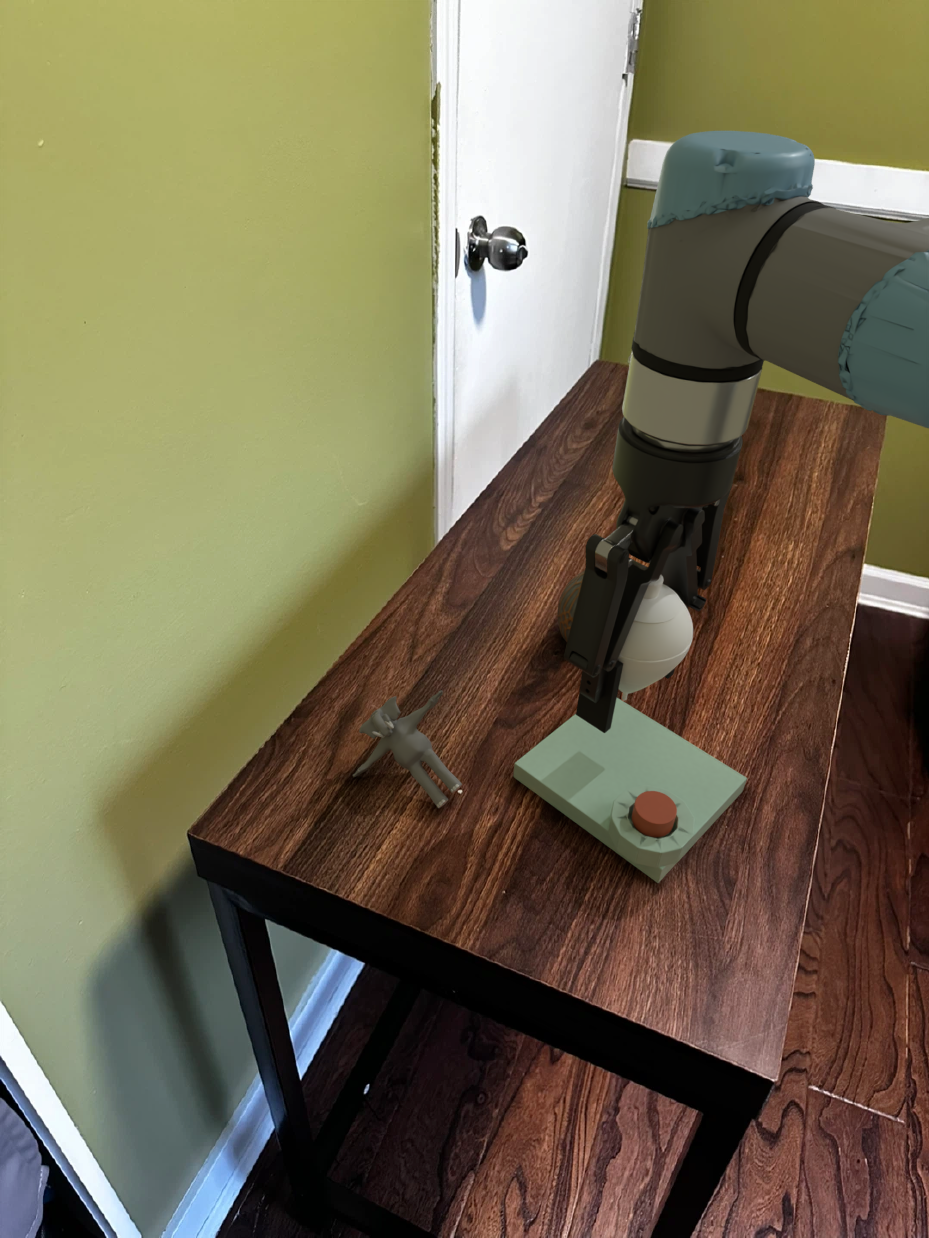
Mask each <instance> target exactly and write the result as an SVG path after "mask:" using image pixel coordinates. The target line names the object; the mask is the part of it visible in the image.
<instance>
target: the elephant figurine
mask: <svg viewBox="0 0 929 1238" xmlns="http://www.w3.org/2000/svg"><path fill="white" fill-rule="evenodd" d="M443 694H444V692H443V690H441V689H440V690H438V691H437V693H436V694H434V695H432V696H431V697H430V698H428V701H427V702H426V704H424V706H422V707H420V708H418V709H416V710H414V711H413V712H411V713H410V714H408V715H406V716H403V717H400V718H398V717H399V715H401V711H400V708H399V706H398V703H397V697H398V696H397V695H395V696H392V697H390V698H389V699H387V700H386V701H385V702H384V704H383V705H381V707H379V708H377V709H375V710H374V711H373V712H372V713H371V714H370V716H369V718H368V719H367V720H366V721H365V722H363V723H362V724H361V726H360V727H359V730H358V733H360V734H365V735H367V736H368V737H370V738H371V739H372V740H375V738H377V737H379V738H380V740H379V742H378V743H377V745H376V747H375V748H374V750H373V751H372V753H371V754H370V756H369V757H368V758H367V760H366V761H365V762H364V763H362V764H361V765H360V766H359V767H358V768H357V770H356V771H355V772H354V773H353V774H352V777H353V778H357V777H359V776H360V775H361V774H362V773H365V772H367V771H368V770H369V769H370V768H371V767H372V766H373V764H374V763H376V762H377V761H379V760H380V759H382V758H383V757H384V756H385V755H386V754H387V753H388V752H389V751H392V753H393V758H394V761H395V762H396V763H397V764H398V765H399V766H400V767H402V768H403V769H405V770H407V771H409V773H410V774H411V776H412V778H413V779H414V780H415V781H416V782H417V783H418V784H419V786H421V788H422V789H423V790H424V791H425V792H426V794H427V795H428V797H429V798H430V799H431V801H432V802H433V804H434V805H435V806H436V808H437V809H440V808H441V807H443V806H444V805H445V804H447V802H448V801H449V798H448V797H447V796H446V795H445V794H444V793H443V791H442V790H441V789H440V787H439V786H438V785H437V783H436V782H435V781H434V780H433V778H432V777H431V775H429V774H428V772H427V771H426V770H425V768H424V767H423V763H426V765H427V767H429V768H430V769H431V770H432V772H434V774H435V775H436V776H437V777H438V778H439V780H440V781H441V782H442V783H443V784H444V785H445V786H446V788H447V789H448V790H449V792H450V793H451V794H453V793H455V792H457V791H458V790H459V789H460V788H461V787H462V786H463V783H462V782H461V781H460V780H459V779H458V778H457V776H455V775H454V774H453V773H452V772H451V771H450V770H449V769H448V768H447V766H446V765H445V763H443V761H442V760H441V758H440V757H439V756H438V755H437V753H436V752H435V751H434V750H433V744H432V741H431V740H430V739H429V738H428V736H427V735H426V734H424V733H423V732H422V731H419V730H418V728H417V726H418V724H420V722H421V721H422V719H423V718H424V716H425V715H426V714H427V713H428V711H430V710H431V709H433V708H434V707H435V706H436V705H437V704H438V702H439V700H440V698H441V697H442V696H443Z"/></svg>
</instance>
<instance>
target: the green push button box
mask: <svg viewBox="0 0 929 1238" xmlns="http://www.w3.org/2000/svg"><path fill="white" fill-rule="evenodd" d="M512 777H513V778H514V779H515V780H516V781H518V782H520V783H521V784H522V785H524V786H525V787H526V788H528V789H529V790H530V791H532V792H533V793H534V794H536V795H537V796H538V797H540V798H541V799H543V800H544V801H545V802H547V803H548V804H549V805H550V806H551V807H553V808H555V809H556V810H557V811H559V812H561V814H563V815H565V816H566V817H567V818H568V819H569V820H571V821H572V822H574V823H576V825H578V826H579V827H581V828H582V829H583V830H585V831H586V832H587V833H588V834H590V835H592V837H594V838H596V839H597V840H598V841H600V842H601V843H603V844H604V846H607V847H608V848H610V849H611V850H612V851H613V852H615V854H617V855H619V856H620V857H621V858H623V859H624V860H625V861H626V862H628V863H630V864H631V865H632V866H634V867H635V868H636V869H638V870H639V871H641V872H642V873H643V874H645V875H646V876H647V877H649V878H650V879H651V880H653V881H654V882H655V883H657V884H659V883H660V882H661V881H662V880H663V879H664V878H665V877H666V876H667V874H668V873H669V872H670V871H671V870H672V869H673V868H674V867H675V866H676V865H677V864H678V863H679V862H680V860H682V858H683V857H684V856H685V855H686V854H687V853H688V852H689V850H691V848H693V846H694V845H695V844H696V843H697V842H698V841H699V840H700V838H702V836H703V835H704V834H705V833H706V832H707V831H708V830H709V829H710V828H711V826H713V825H714V823H715V822H716V821H717V820H718V819H719V818H720V817H721V816H722V815H723V814H724V813H725V811H727V809H728V808H729V807H730V806H731V805H732V803H734V802H735V800H736V799H737V798H738V797H739V796H740V795H741V794H742V793H743V791H744V789H745V785H746V783H747V780H748V777H746V776H745V775H743V774H741V773H740V772H738V771H737V770H735V769H734V768H732V767H731V766H729V765H727V764H725V763H724V762H722V761H721V760H719V759H717V758H716V757H714V756H713V755H711V754H709V753H707V752H706V751H704V750H703V749H701V748H699V747H698V746H696V745H695V744H693V743H691V742H689V741H688V740H686V739H685V738H683V737H682V736H680V735H678V734H676V733H675V732H674V731H672V730H671V729H669V728H668V727H665V726H664V725H662V724H660V723H659V722H657V721H656V720H654V719H652V718H651V717H649V716H647V715H646V714H644V713H643V712H641V711H639V710H638V709H636V708H634V707H633V706H632V705H630V704H628V703H627V702H626V701H624V700H623V699H620V698H619V697H617V699H616V704H615V709H614V714H613V719H612V724H611V728H610V729H609V730H608V731H607V732H606V733H603V732H601V731H600V730H598V729H597V728H595V727H594V726H592V725H591V724H589V723H588V722H586V721H585V720H583V719H582V718H580V717H579V716H577V715H576V713H575V714H573V715H572V716H571V717H569V718H568V719H567V720H566V721H565V722H563V723H562V724H561V725H560V726H558V728H556V729H555V730H554V731H553V732H551V733H550V734H549V735H547V736H546V737H545V738H544V739H542V740H541V741H540V742H538V744H536V745H535V746H534V747H532V749H529V751H528V752H526V753H525V754H524V755H522V756H521V757H520V758H519V759H518V760H517V761H515V762H514V764H513V776H512ZM647 791H657V792H661V793H663V794H665V795H667V796H668V797H670V798H671V799H672V800H673V802H674V803H675V805H676V808H677V814H676V818H675V821H674V825H673V828H672V830H671V831H670V832H669V833H668V834H667V835H665V836H663V837H649V836H646V835H644V834H642V833H641V832H639V831H638V830H637V829H636V828H635V826H634V825H633V822H632V812H633V808H634V804H635V800H636V798H637V797H638V796H639V795H640V794H641V793H644V792H647Z"/></svg>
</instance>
